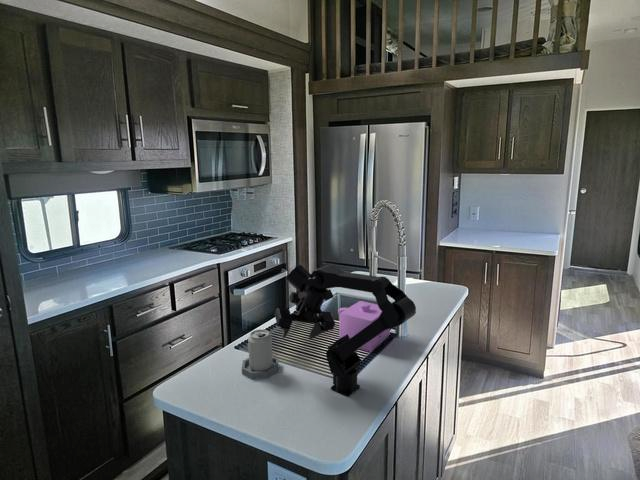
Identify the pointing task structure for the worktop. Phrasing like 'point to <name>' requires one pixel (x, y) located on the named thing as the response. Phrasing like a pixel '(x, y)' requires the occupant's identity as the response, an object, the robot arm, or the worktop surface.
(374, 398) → the worktop surface
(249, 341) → the can
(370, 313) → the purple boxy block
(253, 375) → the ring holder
